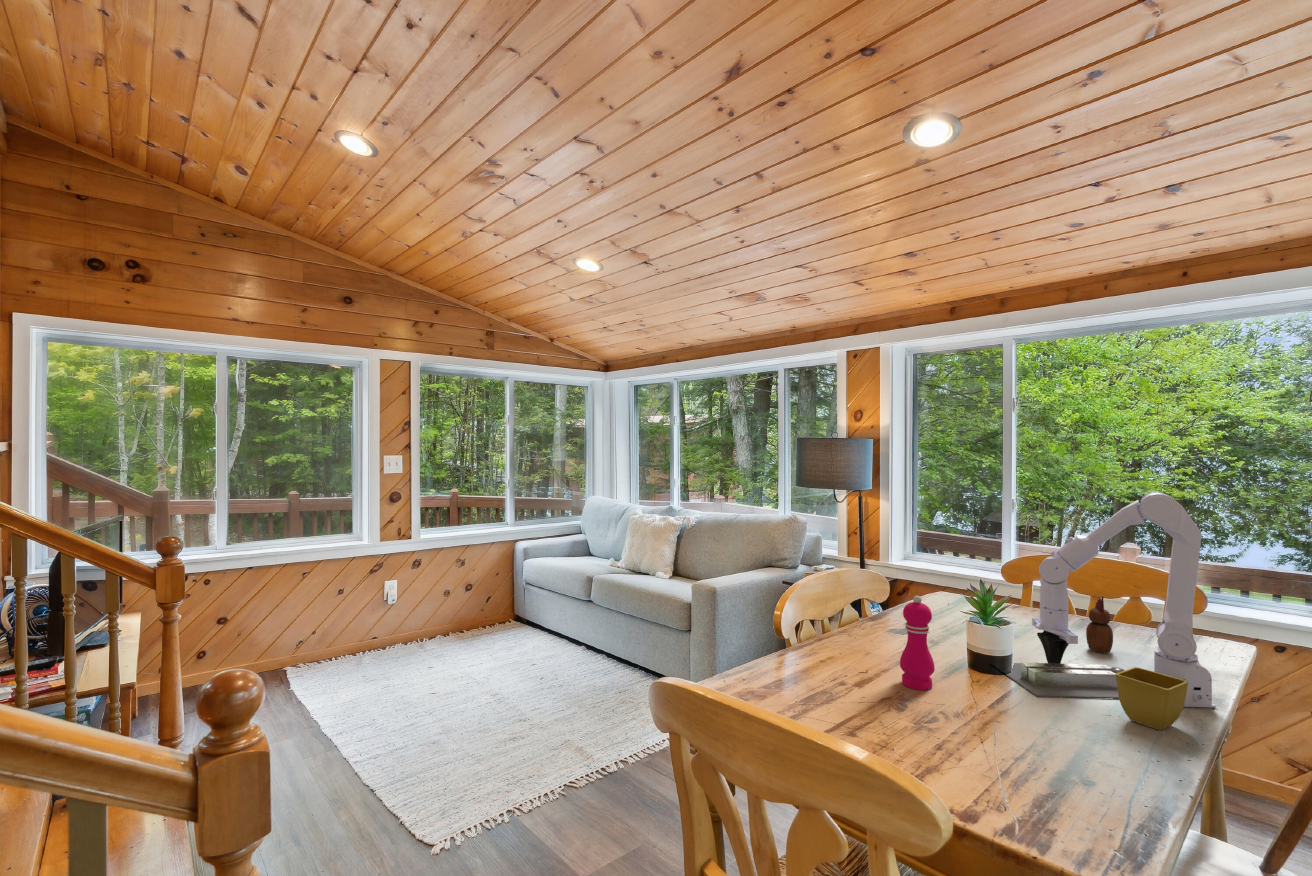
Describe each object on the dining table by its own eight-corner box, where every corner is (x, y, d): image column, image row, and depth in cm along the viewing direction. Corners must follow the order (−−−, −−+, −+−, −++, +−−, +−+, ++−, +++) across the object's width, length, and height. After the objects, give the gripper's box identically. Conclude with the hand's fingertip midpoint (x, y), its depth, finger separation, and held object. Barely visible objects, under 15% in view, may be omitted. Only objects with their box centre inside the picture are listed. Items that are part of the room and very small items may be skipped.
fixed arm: (1109, 683, 138) (1109, 670, 138) (1117, 688, 135) (1117, 674, 135) (1028, 681, 139) (1028, 668, 139) (1034, 686, 136) (1034, 672, 136)
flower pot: (1189, 727, 117) (1189, 680, 117) (1169, 738, 113) (1168, 689, 113) (1135, 710, 125) (1135, 666, 125) (1114, 719, 120) (1114, 673, 121)
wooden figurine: (1113, 657, 157) (1113, 598, 157) (1085, 652, 160) (1085, 595, 161) (1113, 650, 162) (1113, 594, 163) (1086, 646, 166) (1086, 590, 166)
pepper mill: (938, 692, 133) (938, 600, 133) (903, 689, 134) (903, 598, 134) (930, 680, 140) (930, 592, 140) (896, 677, 141) (897, 591, 141)
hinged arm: (1114, 678, 141) (1114, 664, 141) (1127, 684, 137) (1127, 670, 137) (1021, 675, 141) (1021, 662, 142) (1030, 682, 138) (1030, 668, 138)
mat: (1166, 700, 130) (1166, 698, 130) (1036, 696, 131) (1036, 695, 131) (1101, 666, 150) (1101, 665, 150) (989, 663, 151) (989, 662, 151)
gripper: (1019, 599, 153) (1019, 654, 153) (1055, 615, 138) (1055, 675, 138) (1048, 600, 153) (1048, 654, 152) (1087, 616, 138) (1087, 676, 138)
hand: (1053, 664), depth 145 cm, fingers closed
